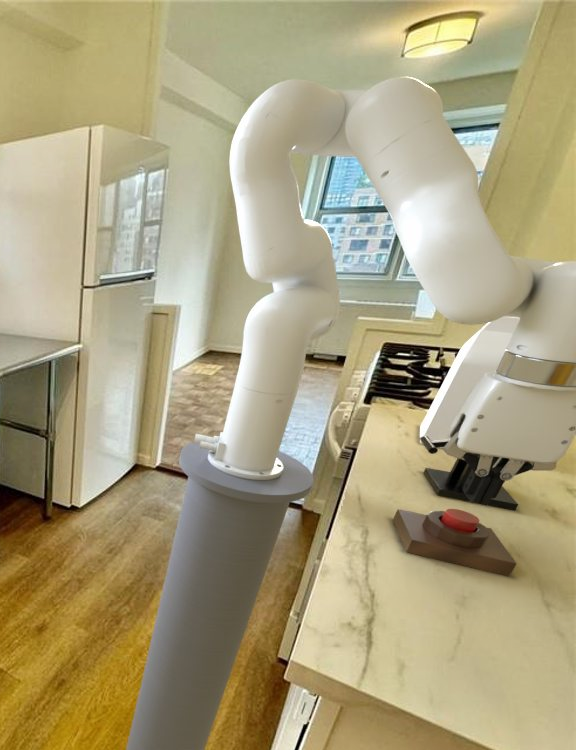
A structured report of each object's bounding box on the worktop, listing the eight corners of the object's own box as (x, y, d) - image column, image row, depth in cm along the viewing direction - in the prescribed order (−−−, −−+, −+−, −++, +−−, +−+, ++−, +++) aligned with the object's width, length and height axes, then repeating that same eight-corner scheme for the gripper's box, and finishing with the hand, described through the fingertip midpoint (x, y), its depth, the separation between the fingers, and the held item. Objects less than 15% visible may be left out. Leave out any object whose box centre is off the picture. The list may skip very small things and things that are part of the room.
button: (444, 528, 68) (449, 518, 67) (436, 516, 71) (442, 506, 70) (478, 536, 67) (483, 525, 66) (468, 522, 69) (474, 512, 69)
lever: (428, 457, 83) (428, 444, 82) (420, 445, 87) (419, 432, 87) (512, 451, 77) (512, 437, 77) (498, 438, 82) (498, 425, 81)
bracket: (436, 495, 83) (468, 433, 78) (422, 473, 90) (450, 414, 85) (515, 510, 79) (553, 445, 74) (494, 485, 86) (527, 425, 81)
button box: (406, 552, 69) (417, 529, 67) (392, 520, 76) (402, 498, 74) (509, 576, 64) (524, 552, 63) (484, 540, 72) (497, 518, 70)
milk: (419, 443, 102) (477, 318, 90) (420, 426, 110) (472, 309, 98) (498, 460, 95) (571, 327, 83) (492, 441, 103) (559, 317, 91)
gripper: (612, 370, 58) (537, 499, 66) (451, 356, 65) (400, 476, 73) (653, 387, 52) (564, 527, 60) (471, 370, 59) (413, 499, 67)
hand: (475, 499), depth 66 cm, fingers closed
